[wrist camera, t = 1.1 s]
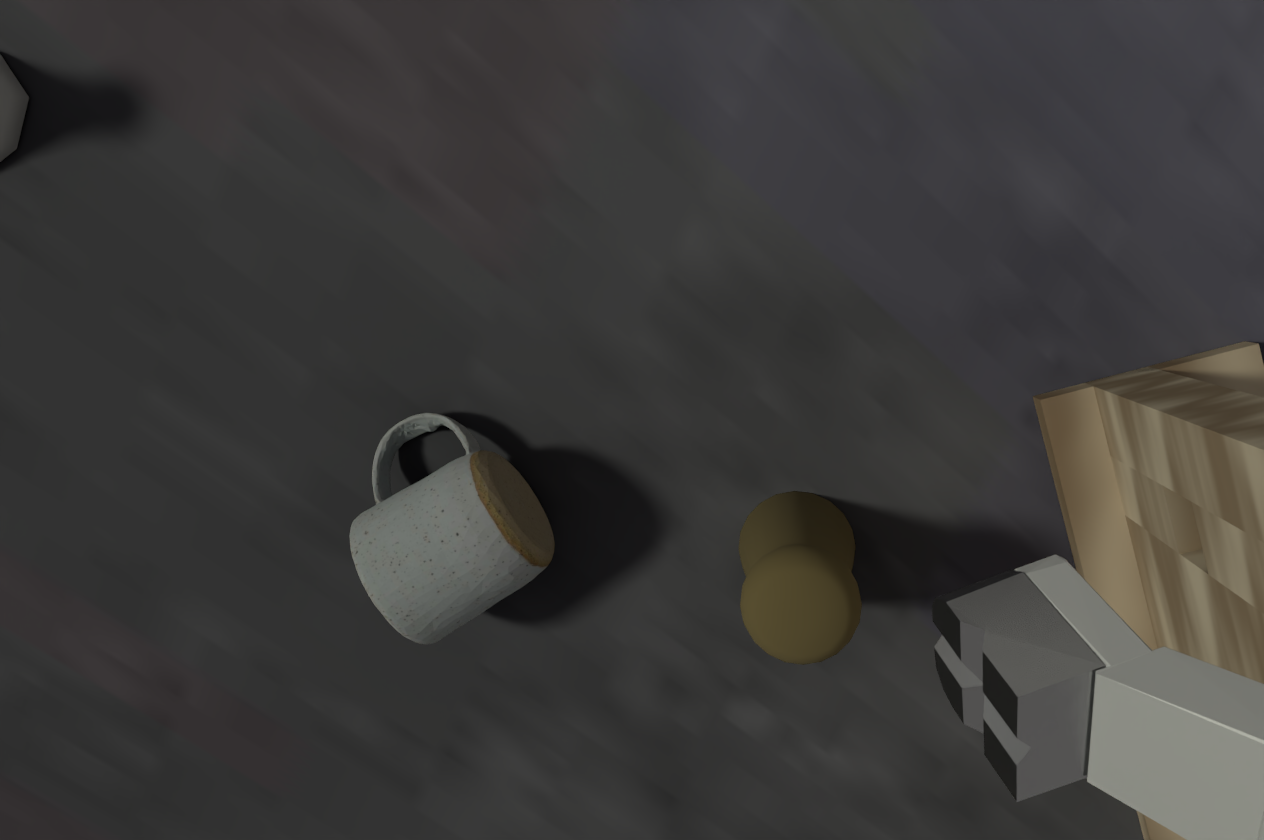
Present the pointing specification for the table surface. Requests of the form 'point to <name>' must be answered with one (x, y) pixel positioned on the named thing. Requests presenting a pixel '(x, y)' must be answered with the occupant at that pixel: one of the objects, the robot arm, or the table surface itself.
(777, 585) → the cork
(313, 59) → the table surface
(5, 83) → the flask
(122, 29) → the table surface
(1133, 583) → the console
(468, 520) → the ceramic mug
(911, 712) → the table surface
